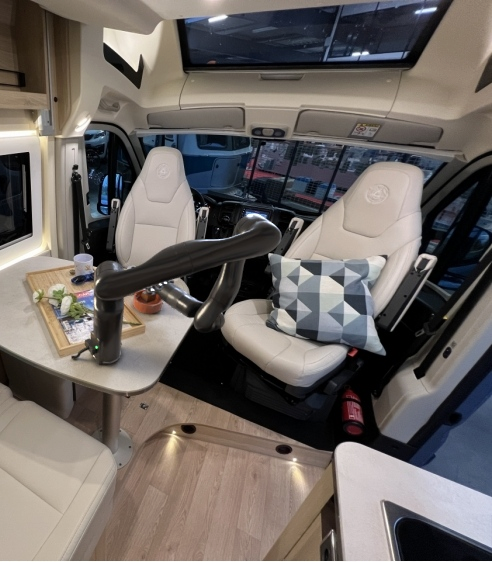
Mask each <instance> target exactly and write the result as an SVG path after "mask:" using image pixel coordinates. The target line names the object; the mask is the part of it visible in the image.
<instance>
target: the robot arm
mask: <svg viewBox="0 0 492 562" xmlns="http://www.w3.org/2000/svg"><path fill="white" fill-rule="evenodd" d="M281 241H282V232H281V231H280V229H279V228H278V227H277V226H276V225H275V224H274V223H272V221H270V220H268V219H267V218H265V217H263V216H262V215H260V214H258V213H249V214H246V215H245V216H243V217H242V218H241V219H239V220H238V222H237V224H236V225H235V227H234V229H233V233H232V235H231V236H230V237H226V238H220V239H219V238H218V239H189V240H184V241H182V242H179V243H176V244H175V243H174V244H172V245H169V246H167V247H165V248H162V249H161V250H159V252H157V253H155V254H154V255H153V256H152V257H150V258H149V259H148V260H146V261H144V262H142V263H141V264H139V265H135V266H136V267H134V268H130V269H127V268H126V269H124V267H123V266H122V265H121V264H120V263H119V262H116V261H114V260H106V261H102V262H101V263H99V264H98V266H97V267H96V268H95V270H94V274H93V317H92V318H93V321H92V322H93V323H92V325H93V327H92V330H91V331H90V338H89V337H88V338H87V339H84V346H85V347H84V348H81V349H80V350H79V351H78V352H77V354H76V355H71V357H70V358H71V359H72V360H76V359H78V358H80V356H81V355H82V354H84V352H86V351H88V352H89V353H90V355H91V356H92V358H93V359H94V360H95V361H96V363H97V364H98V365H102V364H103V365H111V364H114V363H116V362H117V361H118V360H119V359H120V358H121V354H122V353H121V351H122V350H121V348H122V345H123V344H122V335H123V324H124V312H125V298H127V297H128V296H131V295H134V293H136V292H138V291H141V290H146V292H147V294H150V293H153V292H154V293H155V294H158V295H159V296H160V298H161V299H162V300H163V302H164V303H166V304H167V305H169V307H171V308H173V309H174V310H175V311H177V312H179V313H180V314H181V315H183V316H184V317H186V318H188V319H193V326H194V328H195V330H196V331H197V332H199V333H202V334H207V333H211V332H214V331H217V330H220V329H221V328H223V327H224V326H225V323H226V318H225V315H224V314H223V313H224V312H226V311H227V310H229V308H231V305H232V304H233V302H234V300H235V298H236V297H237V294H238V293H239V290H240V288H241V283H242V278H243V271H244V265H245V263H246V260H247V259H253V258H257V257H261V256H264V255H267V254H269V253H270V252H272V251H273V250H275V249H276V248H278V246H279V244H280V243H281ZM218 266H219V267H220V266H221V269H220V272H219V275H218V278H217V279H216V281H215V283H214V285H213V287H212V289H211V291H210V293H209V295H208V297H207V298H206V300H205V301H200V300H198V299H197V298H195V297H193V296H192V295H190V294H189V293H188V292H187V291H186V290H183V289H182V288H181V287H180V286H178V285H176V284H175V280H176V279H181V278H183V277H187V276H190V275H193V274H196V273H198V272H201V271H204V270H208V269H212V268H215V267H218Z"/></svg>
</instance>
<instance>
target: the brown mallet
mask: <svg viewBox="0 0 492 562" xmlns="http://www.w3.org/2000/svg"><path fill="white" fill-rule="evenodd" d="M156 295H157V294H155V293H154V292H153V293H150V294H147V292H146V291H144V292H142V299H143V300H144V301H145V302H146V303H148V302H151V301H154V300H155V298H156Z"/></svg>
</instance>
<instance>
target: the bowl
mask: <svg viewBox="0 0 492 562" xmlns="http://www.w3.org/2000/svg"><path fill="white" fill-rule="evenodd" d="M144 291H146V289H143V290H141V291H138V292H136V293H135V294H133V300H132V306H133V308H134V309H135V310H136V311H138V312H139V313H142V314H147V315H149V314H150V315H151V314H156V313H158V312H160V311H161V310H162V308H163V302H164V301H163V300H162V299H161V298H160V296H159V295H158V294H157V295H156V298H155V300H154V301H151V302H148V303H146V302H145V301H144V300H143V299H142V292H144Z"/></svg>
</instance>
